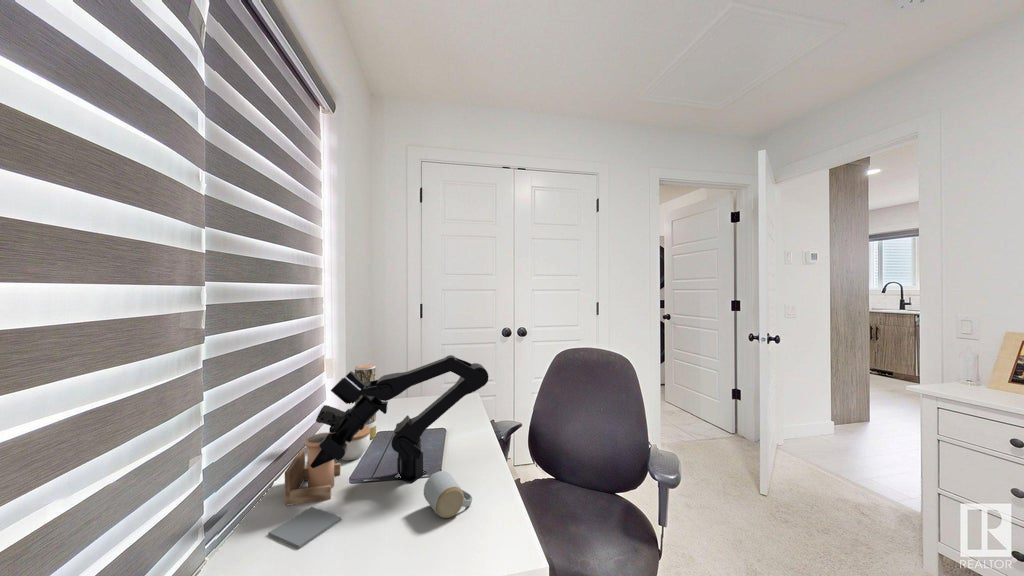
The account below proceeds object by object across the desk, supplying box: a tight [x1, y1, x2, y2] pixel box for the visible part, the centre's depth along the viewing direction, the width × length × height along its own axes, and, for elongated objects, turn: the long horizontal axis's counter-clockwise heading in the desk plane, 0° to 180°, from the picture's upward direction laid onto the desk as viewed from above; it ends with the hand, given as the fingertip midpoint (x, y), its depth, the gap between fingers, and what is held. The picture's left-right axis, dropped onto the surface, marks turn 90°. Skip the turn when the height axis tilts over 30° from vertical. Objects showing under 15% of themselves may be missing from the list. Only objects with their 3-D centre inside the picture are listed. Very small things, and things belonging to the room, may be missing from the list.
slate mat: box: [267, 506, 342, 550], centre depth 80 cm, size 10×10×1 cm
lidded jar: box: [341, 426, 371, 461], centre depth 114 cm, size 11×11×9 cm
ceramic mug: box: [423, 470, 473, 519], centre depth 86 cm, size 11×8×8 cm
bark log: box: [354, 363, 377, 440], centre depth 128 cm, size 7×7×25 cm
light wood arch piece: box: [284, 448, 342, 506], centre depth 96 cm, size 10×13×8 cm
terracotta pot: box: [304, 432, 335, 490], centre depth 96 cm, size 7×7×13 cm
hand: (315, 461), depth 96 cm, fingers closed on terracotta pot, 6 cm apart
